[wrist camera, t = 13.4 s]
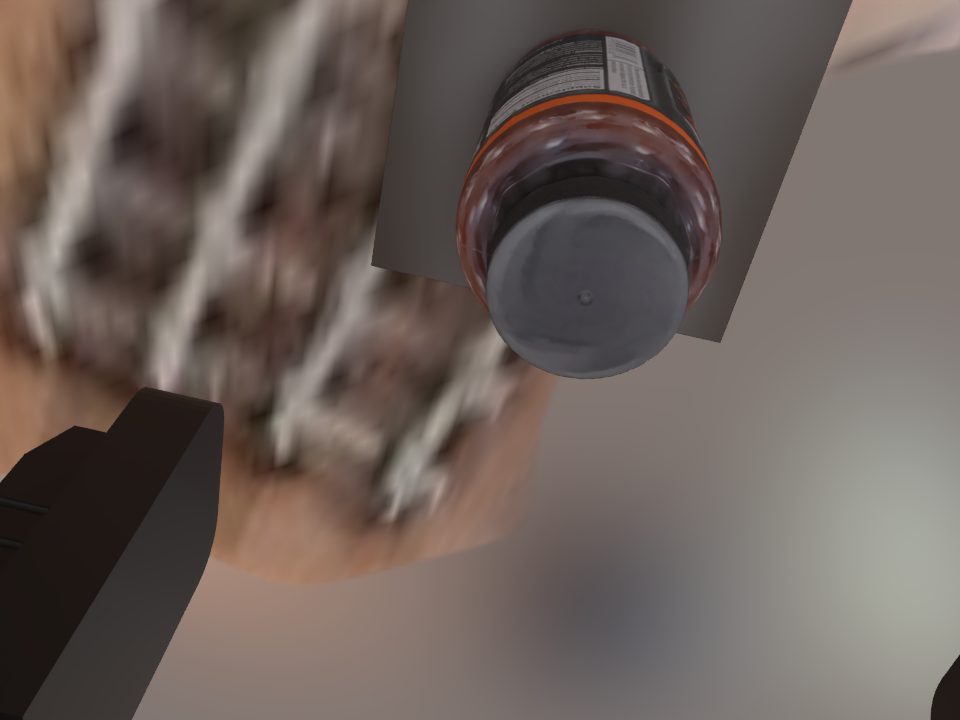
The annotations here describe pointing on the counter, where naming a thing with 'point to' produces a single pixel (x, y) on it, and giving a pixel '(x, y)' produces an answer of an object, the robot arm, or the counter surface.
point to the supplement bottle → (588, 207)
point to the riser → (661, 28)
